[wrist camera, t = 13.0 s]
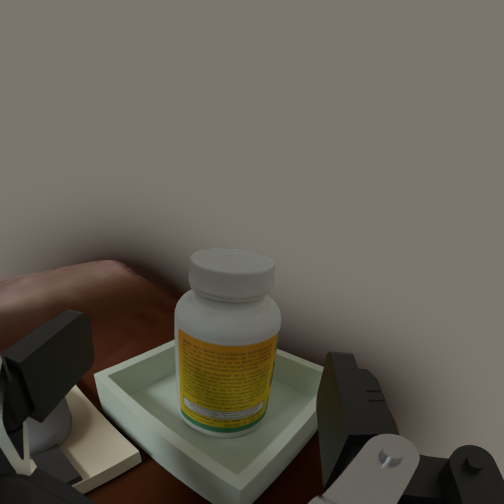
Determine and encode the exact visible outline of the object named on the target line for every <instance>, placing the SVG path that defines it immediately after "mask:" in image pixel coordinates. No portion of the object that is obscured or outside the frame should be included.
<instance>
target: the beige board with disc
mask: <svg viewBox="0 0 504 504" xmlns="http://www.w3.org/2000/svg"><path fill="white" fill-rule="evenodd" d="M25 421H26V423H27V426H28V441H29V458H30V468H31V472H32V473H33V471H34V470H35V469H36V467H37V468H39V469H41V470H42V471H44V472H46V473H48V474H50V475H52V476H54V477H56V478H58V479H60V480H62V481H64V482H66V483H68V484H70V485H71V486H73V487H74V488H75V489H76V490H78V491H79V492H80V493H82V494H85V493H87V492H89V491H91V490H93V489H95V488H96V487H98V486H100V485H102V484H104V483H106V482H108V481H109V480H111V479H113V478H115V477H117V476H118V475H120V474H122V473H124V472H125V471H127V470H129V469H130V468H132V467H134V466H136V465H137V464H139V463H141V462H142V461H141V457H140V453H139V451H138V450H137V449H136V448H135V447H134V446H133V445H132V444H131V443H130V442H129V441H128V440H127V439H126V438H125V437H123V436H122V435H121V434H120V433H119V432H118V431H117V430H116V429H115V428H114V427H113V426H112V425H111V424H110V423H109V422H108V420H107V419H106V418H105V417H104V416H103V415H102V414H101V413H100V412H99V411H98V410H97V409H96V408H95V407H94V405H93V404H92V403H91V402H90V401H89V400H88V399H87V398H86V396H85V395H84V394H83V393H82V392H81V391H80V390H79V388H78V387H77V386H76V385H75V386H74V387H73V388H72V389H71V390H70V391H69V393H68V394H67V395H66V396H65V397H64V398H63V399H62V400H61V402H60V403H59V404H58V405H57V406H56V407H55V408H54V410H53V411H52V412H51V413H50V414H49V415H48V416H47V418H46V419H45V420H44V421H43V422H42V423H40V422H38V421H36V420H34V419H32V418H30V417H28V418H27V419H26V420H25Z"/></svg>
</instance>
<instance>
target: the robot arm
mask: <svg viewBox="0 0 504 504" xmlns="http://www.w3.org/2000/svg"><path fill="white" fill-rule="evenodd" d="M93 361H94V347H93V341H92V334H91V328H90V321H89V317H88V315H87V314H85V313H81V312H77V311H73V310H69V309H67V310H65V311H63V312H62V313H61V314H59V315H58V316H56V317H55V318H54V319H52V320H51V321H48V322H46V323H43V324H41V325H40V326H38V327H37V328H36V329H34V330H33V332H30V333H29V334H27V335H26V337H25V338H24V337H23V338H22V339H21V340H19V341H18V342H17V343H15V344H14V345H13V346H11V347H10V348H9V349H7V350H6V351H5V352H3V353H2V354H1V355H0V504H96V503H94V502H93V501H91V500H90V499H89V498H87V497H86V496H84V495H83V494H82V493H80V492H79V491H78V490H76V489H75V488H74V487H73V486H71V485H70V484H68V483H66V482H64V481H62V480H60V479H58V478H56V477H54V476H52V475H50V474H48V473H46V472H44V471H42V470H41V469H39V468H37V467H36V469H35V470H34V471H33V473H32V472H31V468H30V458H29V441H28V426H27V423H26V421H25V420H26V419H27V418H28V417H30V418H32V419H34V420H36V421H38V422H40V423H42V422H43V421H44V420H45V419H46V418H47V416H48V415H49V414H50V413H51V412H52V411H53V410H54V408H55V407H56V406H57V405H58V404H59V403H60V402H61V400H62V399H63V398H64V397H65V396H66V395H67V394H68V393H69V391H70V390H71V389H72V388H73V387H74V386H75V385H76V384H77V382H78V381H79V380H80V379H81V378H82V377H83V376H84V375H85V374H86V372H87V371H88V370H89V369H90V368H91V366H92V364H93ZM316 413H317V422H318V433H319V443H320V454H321V466H322V479H323V489H328V490H327V491H326V492H325V493H324V494H323V495H322V496H320V495H318V496H316V497H315V498H313V499H312V500H311V501H310V502H309V503H308V504H504V480H503V478H502V475H501V473H500V471H499V469H498V467H497V465H496V463H495V461H494V459H493V457H492V456H491V454H489V453H488V452H487V451H486V450H484V449H483V448H481V447H478V446H473V445H465V446H462V447H459V448H458V449H456V450H455V451H454V452H453V454H452V455H451V456H450V458H449V459H446V458H437V457H429V456H424V455H420V454H419V452H418V450H417V448H416V446H415V445H414V444H413V443H412V442H411V441H409V440H408V439H406V438H404V437H402V436H399V435H398V433H397V430H396V428H395V425H394V422H393V420H392V417H391V414H390V411H389V409H388V406H387V404H386V402H385V398H384V396H383V393H381V388H380V386H379V383H378V380H377V379H376V378H375V377H374V376H373V375H372V374H371V373H370V372H369V371H368V370H367V369H358V367H357V364H356V361H355V358H354V355H353V354H352V353H341V352H329V353H328V354H327V357H326V361H325V365H324V369H323V373H322V377H321V380H320V384H319V388H318V392H317V399H316Z"/></svg>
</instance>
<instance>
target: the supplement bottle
mask: <svg viewBox="0 0 504 504" xmlns="http://www.w3.org/2000/svg"><path fill="white" fill-rule="evenodd" d="M274 270H275V264H274V261H273V260H272V259H271V258H270V257H268V256H266V255H264V254H261V253H257V252H253V251H249V250H243V249H233V248H213V249H206V250H201V251H198V252H196V253H193V254H192V255H191V257H190V265H189V276H188V281H189V283H190V287H191V288H192V289H191V290H190V291H188V292H186V293H185V294H184V295H183V296H182V297H181V298H180V299H179V301H178V303H177V305H176V308H175V362H176V392H177V406H178V410H179V413H180V415H181V417H182V418H183V420H184V421H185V422H186V423H187V424H188V425H189V426H190V427H192V428H193V429H195V430H197V431H199V432H201V433H203V434H205V435H208V436H212V437H217V438H233V437H238V436H242V435H245V434H247V433H249V432H251V431H253V430H254V429H256V428H257V427H258V426H259V425H260V424H261V422H262V421H263V419H264V417H265V415H266V411H267V407H268V401H269V396H270V390H271V384H272V378H273V372H274V365H275V359H276V353H277V346H278V341H279V335H280V328H281V312H280V309H279V307H278V305H277V304H276V302H275V301H274V300H273V299H272V298H271V297H270V296H268V294H269V292H270V290H271V289H272V287H273V284H274Z"/></svg>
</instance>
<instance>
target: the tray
mask: <svg viewBox="0 0 504 504" xmlns="http://www.w3.org/2000/svg"><path fill="white" fill-rule="evenodd" d="M323 369H324V367H322V366H320V365H317V364H314V363H312V362H309V361H307V360H304V359H302V358H299V357H297V356H294V355H292V354H289V353H287V352H284V351H282V350H279V349H277V353H276V359H275V365H274V372H273V378H272V384H271V390H270V396H269V401H268V407H267V411H266V415H265V417H264V419H263V421H262V422H261V424H260V425H259V426H258V427H257V428H256V429H254V430H253V431H251V432H249V433H247V434H245V435H242V436H238V437H233V438H217V437H212V436H208V435H205V434H203V433H201V432H199V431H197V430H195V429H193V428H192V427H190V426H189V425H188V424H187V423H186V422H185V421H184V420H183V418H182V417H181V415H180V413H179V410H178V406H177V392H176V362H175V340H173V341H170V342H168V343H166V344H164V345H161V346H159V347H157V348H155V349H152V350H150V351H148V352H145V353H143V354H141V355H138V356H136V357H134V358H131V359H129V360H127V361H124V362H122V363H120V364H117V365H115V366H112V367H110V368H108V369H105V370H103V371H100V372H98V373H95V374H94V377H95V381H96V386H97V390H98V395H99V399H100V403H101V407H102V410H103V411H104V413H105V414H106V415H107V416H108V417H109V418H110V419H111V420H112V421H113V422H114V423H115V424H116V425H117V426H118V427H119V428H120V429H121V430H122V431H123V432H124V433H126V434H127V435H128V436H129V437H130V438H131V439H132V440H133V441H134V442H135V443H136V444H137V445H138V446H140V447H141V448H142V449H143V450H144V451H145V452H146V453H147V454H149V455H150V456H151V457H152V458H153V459H154V460H156V461H157V462H158V463H159V464H160V465H161V466H163V467H164V468H165V469H166V470H168V471H169V472H170V473H171V474H173V475H174V476H175V477H176V478H178V479H179V480H180V481H182V482H183V483H184V484H186V485H187V486H188V487H190V488H191V489H192V490H194V491H195V492H197V493H198V494H199V495H201V496H202V497H204V498H205V499H206V500H208V501H209V502H211V503H212V504H252V503H253V502H254V501H255V500H256V499H257V498H258V497H259V496H260V495H261V494H262V493H263V492H264V491H265V490H266V489H267V488H268V487H269V486H270V485H271V484H272V483H273V481H274V480H275V479H276V478H277V477H278V476H279V475H280V474H281V473H282V472H283V470H284V469H285V468H286V467H287V466H288V465H289V464H290V462H291V461H292V460H293V459H294V458H295V457H296V455H297V454H298V453H299V452H300V451H301V449H302V448H303V447H304V446H305V445H306V443H307V442H308V441H309V440H310V438H311V437H312V436H313V435H314V433H315V432H316V431H317V430H318V422H317V413H316V399H317V392H318V388H319V384H320V380H321V377H322V373H323Z"/></svg>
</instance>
